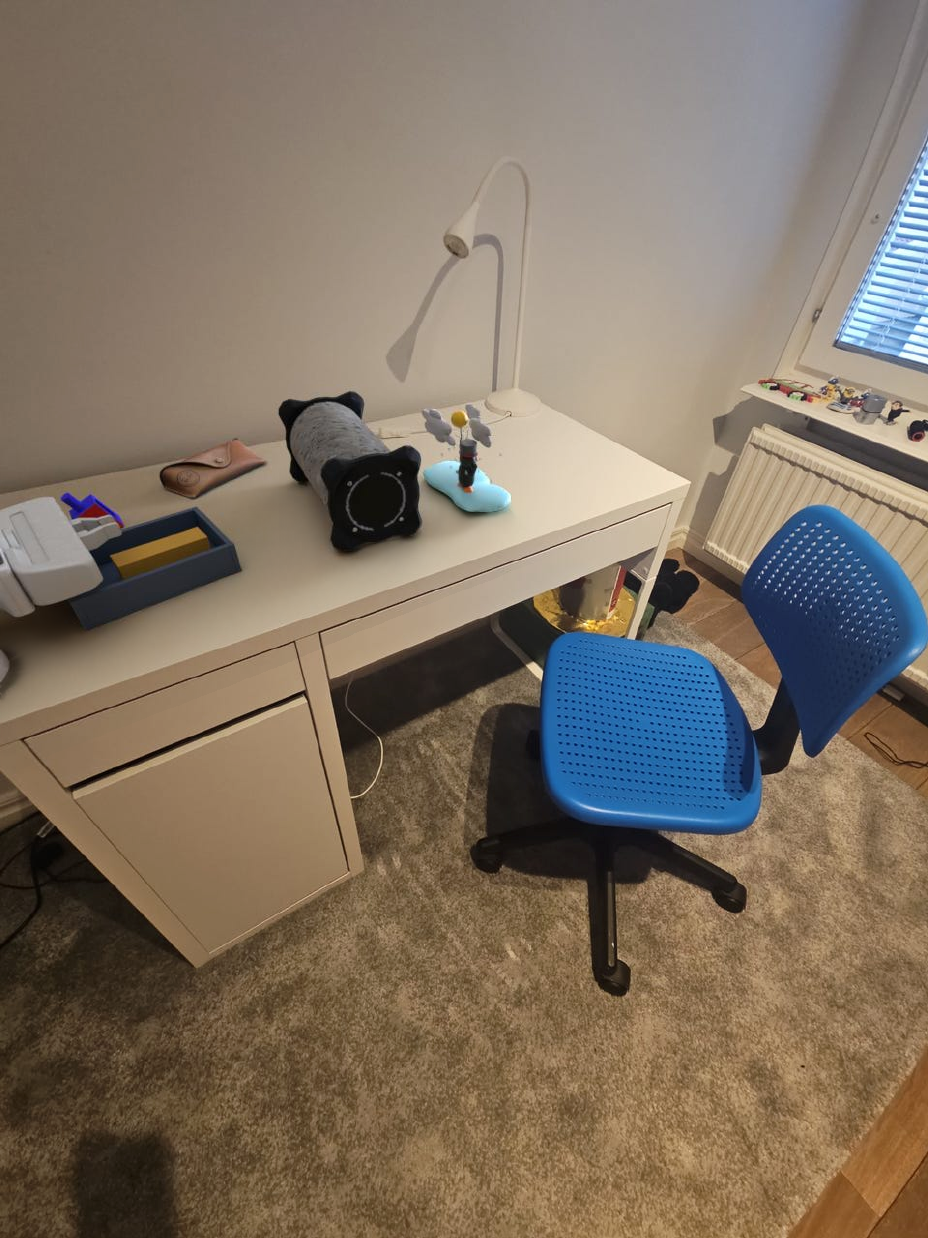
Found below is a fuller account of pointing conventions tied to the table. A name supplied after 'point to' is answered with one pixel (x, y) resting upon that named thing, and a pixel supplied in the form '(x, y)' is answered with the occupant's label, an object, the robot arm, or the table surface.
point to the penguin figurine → (464, 463)
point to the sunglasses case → (209, 469)
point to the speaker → (352, 470)
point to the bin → (159, 583)
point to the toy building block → (88, 508)
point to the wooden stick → (160, 553)
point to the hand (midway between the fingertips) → (117, 524)
